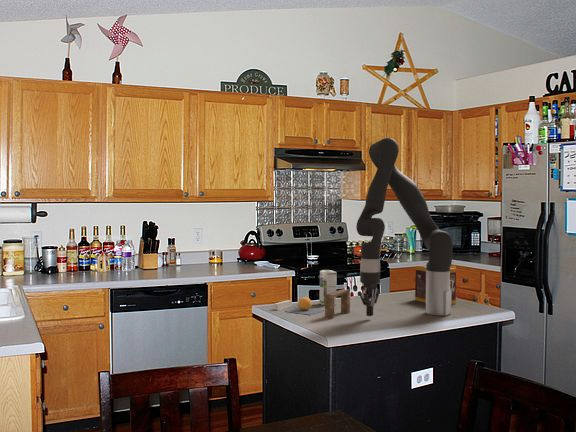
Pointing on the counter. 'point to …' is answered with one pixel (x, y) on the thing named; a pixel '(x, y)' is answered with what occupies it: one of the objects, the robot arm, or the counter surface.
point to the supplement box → (421, 284)
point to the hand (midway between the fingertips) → (369, 315)
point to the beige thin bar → (283, 305)
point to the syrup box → (327, 284)
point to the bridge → (330, 302)
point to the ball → (304, 303)
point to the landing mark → (305, 311)
